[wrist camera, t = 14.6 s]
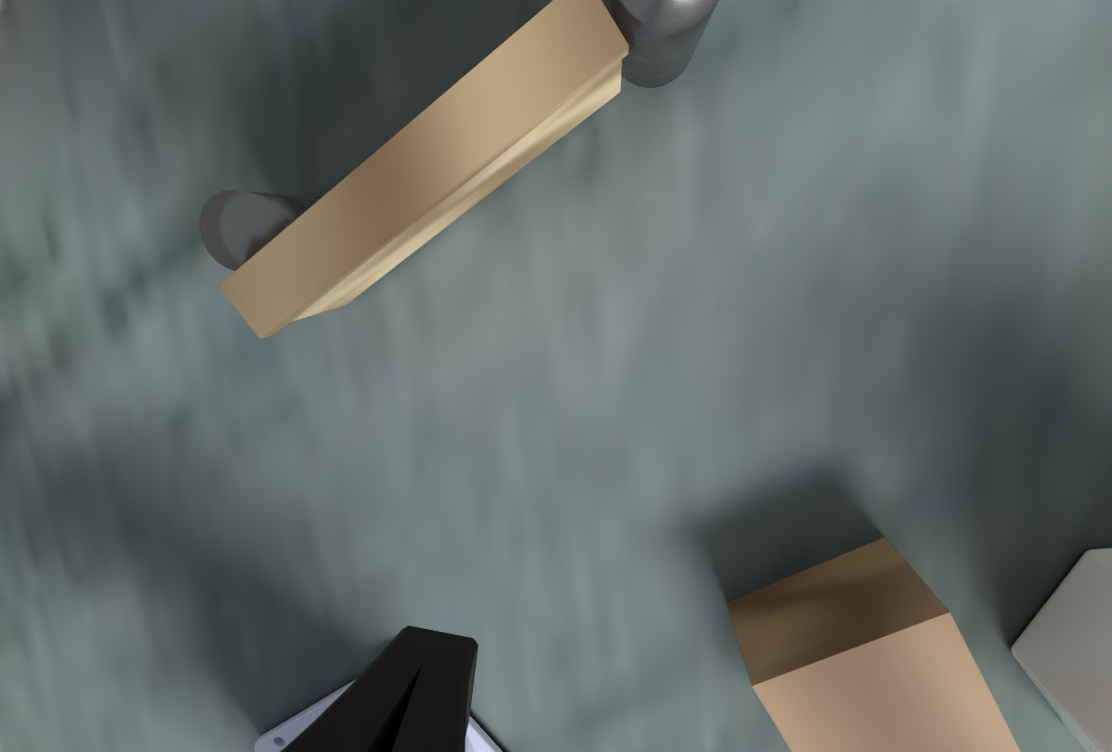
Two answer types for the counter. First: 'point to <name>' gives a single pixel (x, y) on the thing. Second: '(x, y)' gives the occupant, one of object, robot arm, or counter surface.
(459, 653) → the robot arm
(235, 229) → the post
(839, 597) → the block
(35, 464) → the counter surface
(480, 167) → the gate
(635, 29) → the hinge post
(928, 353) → the counter surface
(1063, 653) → the jar
